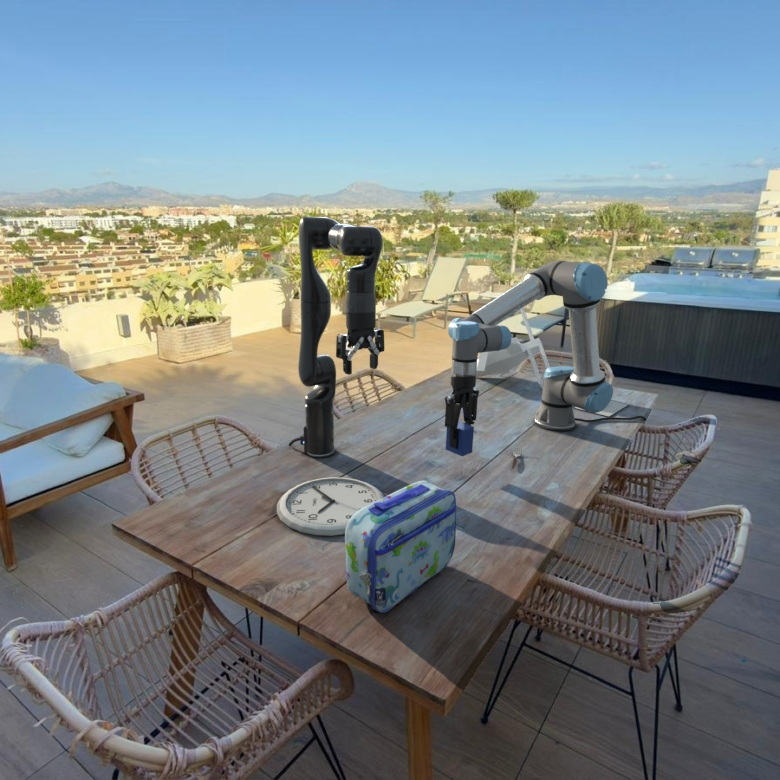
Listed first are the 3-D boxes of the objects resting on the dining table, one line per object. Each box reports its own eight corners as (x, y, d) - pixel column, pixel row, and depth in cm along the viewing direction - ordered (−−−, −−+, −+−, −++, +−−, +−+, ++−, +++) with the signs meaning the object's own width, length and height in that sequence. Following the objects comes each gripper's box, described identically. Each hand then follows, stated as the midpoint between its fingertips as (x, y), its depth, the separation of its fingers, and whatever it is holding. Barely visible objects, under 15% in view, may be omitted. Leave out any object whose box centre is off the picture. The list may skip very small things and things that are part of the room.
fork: (508, 469, 165) (508, 463, 165) (514, 450, 180) (515, 445, 179) (516, 471, 165) (516, 465, 164) (522, 451, 179) (522, 446, 178)
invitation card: (608, 416, 214) (573, 407, 224) (608, 416, 214) (573, 408, 224) (628, 404, 229) (594, 396, 238) (628, 405, 229) (594, 397, 238)
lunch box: (374, 626, 100) (375, 530, 93) (338, 598, 107) (337, 508, 101) (459, 568, 117) (465, 484, 111) (424, 547, 124) (427, 467, 118)
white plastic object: (489, 418, 267) (470, 395, 242) (471, 346, 289) (451, 318, 264) (561, 394, 254) (547, 368, 230) (535, 321, 277) (521, 289, 252)
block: (455, 445, 169) (456, 420, 166) (472, 452, 164) (473, 426, 161) (445, 449, 165) (446, 424, 163) (462, 456, 161) (463, 430, 158)
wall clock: (392, 527, 129) (268, 531, 127) (391, 533, 130) (269, 537, 127) (383, 473, 158) (282, 475, 155) (383, 478, 158) (282, 480, 156)
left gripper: (372, 305, 139) (372, 364, 144) (329, 309, 130) (330, 372, 135) (391, 308, 134) (390, 369, 139) (347, 313, 125) (348, 379, 129)
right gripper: (472, 366, 165) (468, 434, 172) (434, 376, 154) (431, 448, 161) (492, 371, 160) (486, 441, 167) (453, 381, 149) (449, 456, 156)
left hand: (360, 371), depth 137 cm, fingers open, 8 cm apart
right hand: (459, 444), depth 164 cm, fingers closed on block, 5 cm apart
